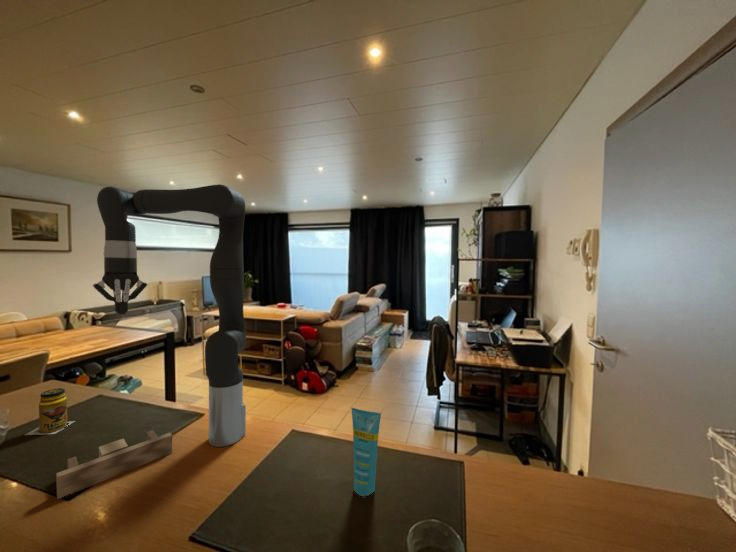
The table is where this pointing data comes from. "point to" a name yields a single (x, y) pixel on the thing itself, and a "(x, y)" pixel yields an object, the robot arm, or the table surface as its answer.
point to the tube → (365, 449)
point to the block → (112, 447)
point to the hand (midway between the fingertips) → (121, 314)
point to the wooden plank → (111, 464)
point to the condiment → (52, 412)
